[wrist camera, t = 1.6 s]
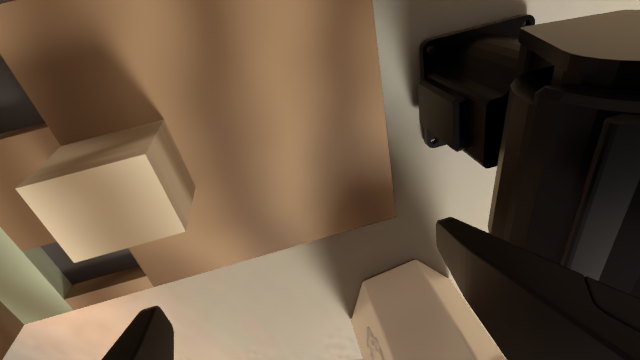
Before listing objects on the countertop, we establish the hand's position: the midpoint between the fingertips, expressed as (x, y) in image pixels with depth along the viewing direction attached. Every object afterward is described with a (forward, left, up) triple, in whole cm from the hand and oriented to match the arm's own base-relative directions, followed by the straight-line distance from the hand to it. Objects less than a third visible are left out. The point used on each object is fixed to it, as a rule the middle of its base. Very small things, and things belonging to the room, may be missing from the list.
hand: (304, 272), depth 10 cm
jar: (-6, +18, -12) cm, 23 cm away
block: (+7, 0, -11) cm, 13 cm away
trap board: (+6, 0, -12) cm, 14 cm away
